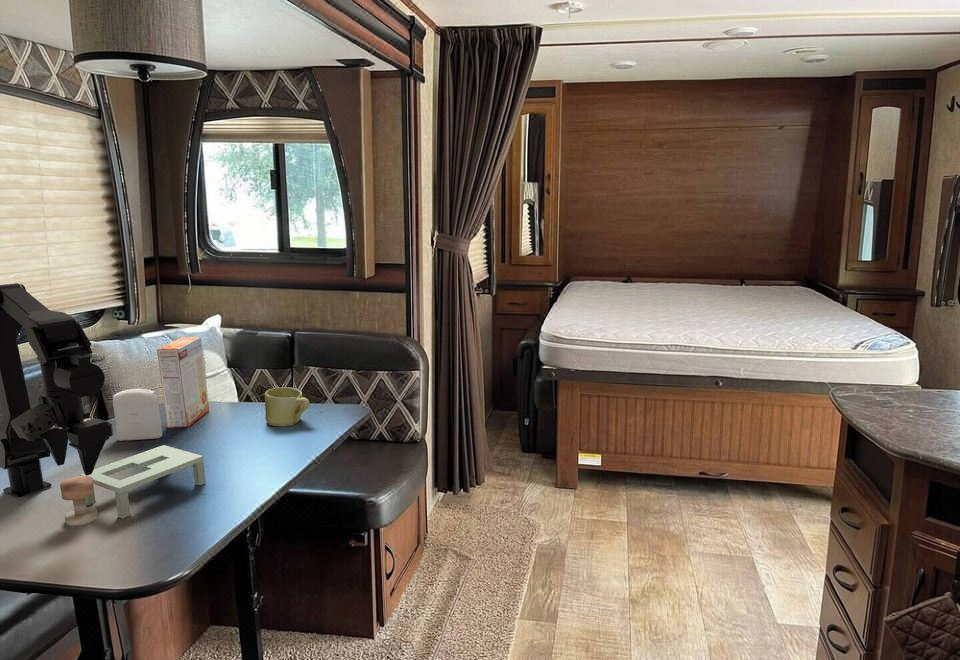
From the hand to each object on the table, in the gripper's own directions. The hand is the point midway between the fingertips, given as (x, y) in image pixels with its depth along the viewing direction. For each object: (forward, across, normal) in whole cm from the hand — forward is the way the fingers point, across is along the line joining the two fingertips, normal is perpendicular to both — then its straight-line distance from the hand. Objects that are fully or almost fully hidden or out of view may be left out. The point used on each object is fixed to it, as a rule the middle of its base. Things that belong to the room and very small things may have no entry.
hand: (74, 469), depth 130 cm
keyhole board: (+10, 0, +13) cm, 16 cm away
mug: (+10, -7, +58) cm, 59 cm away
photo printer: (+10, -31, +32) cm, 46 cm away
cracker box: (+10, -33, +47) cm, 58 cm away
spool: (+10, 0, 0) cm, 10 cm away
